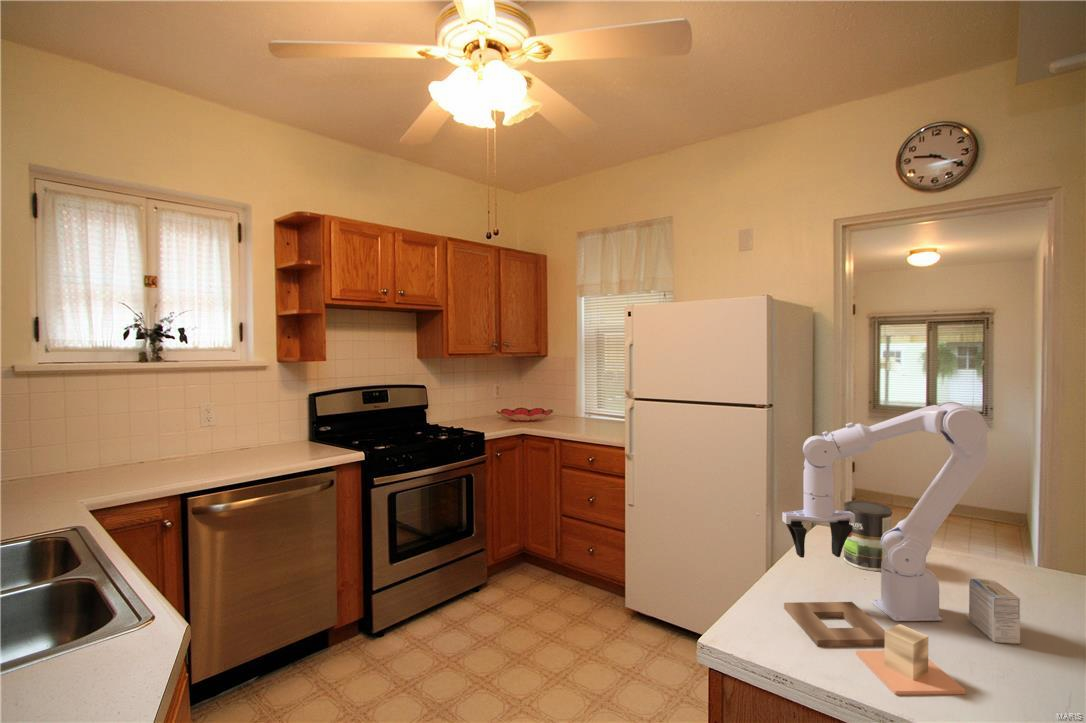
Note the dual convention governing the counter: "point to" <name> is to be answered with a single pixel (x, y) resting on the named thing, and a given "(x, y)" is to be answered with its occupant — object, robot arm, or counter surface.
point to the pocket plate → (821, 635)
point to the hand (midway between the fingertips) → (818, 555)
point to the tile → (902, 685)
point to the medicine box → (994, 610)
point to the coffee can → (867, 534)
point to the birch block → (906, 651)
